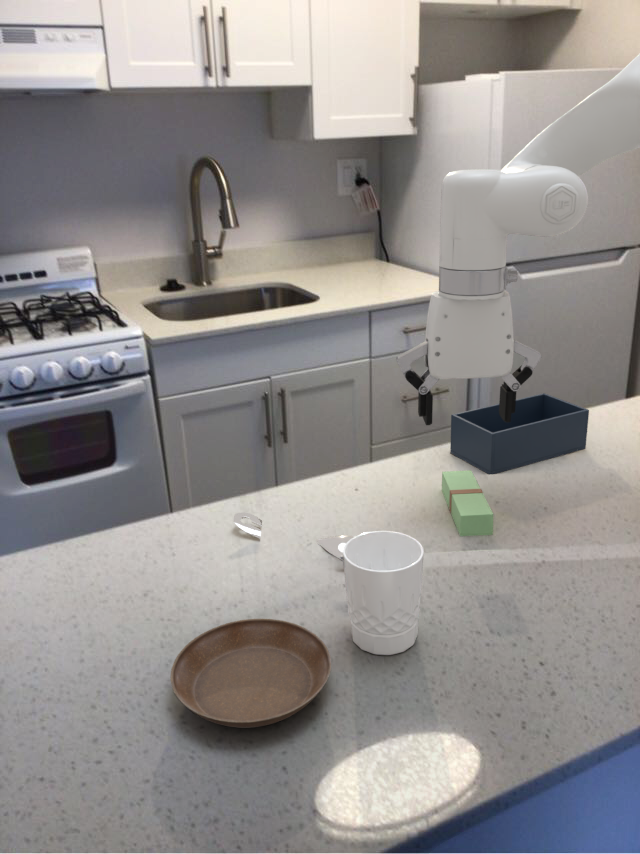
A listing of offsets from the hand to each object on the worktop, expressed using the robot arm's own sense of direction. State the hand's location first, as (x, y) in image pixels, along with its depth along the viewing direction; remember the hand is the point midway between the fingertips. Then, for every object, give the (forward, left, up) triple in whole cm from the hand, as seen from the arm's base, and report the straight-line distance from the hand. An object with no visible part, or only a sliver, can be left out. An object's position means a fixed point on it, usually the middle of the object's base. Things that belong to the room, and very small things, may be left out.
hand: (465, 420), depth 94 cm
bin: (-13, -23, -15) cm, 30 cm away
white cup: (+13, +23, -15) cm, 30 cm away
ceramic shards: (+22, +4, -15) cm, 26 cm away
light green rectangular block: (0, 0, -14) cm, 14 cm away
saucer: (+26, +30, -15) cm, 42 cm away
